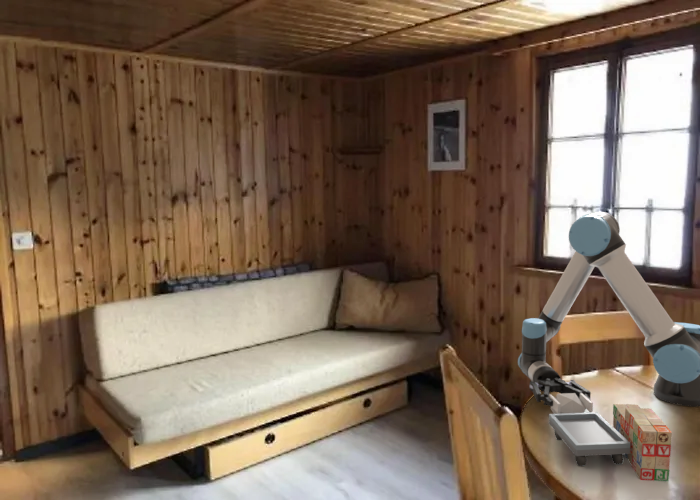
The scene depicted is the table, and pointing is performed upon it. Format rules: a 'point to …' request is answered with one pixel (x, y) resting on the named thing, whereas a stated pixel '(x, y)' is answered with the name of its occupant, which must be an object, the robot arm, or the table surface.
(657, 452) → the stack of blocks
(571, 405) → the die
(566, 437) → the trolley
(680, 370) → the robot arm
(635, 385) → the table surface
